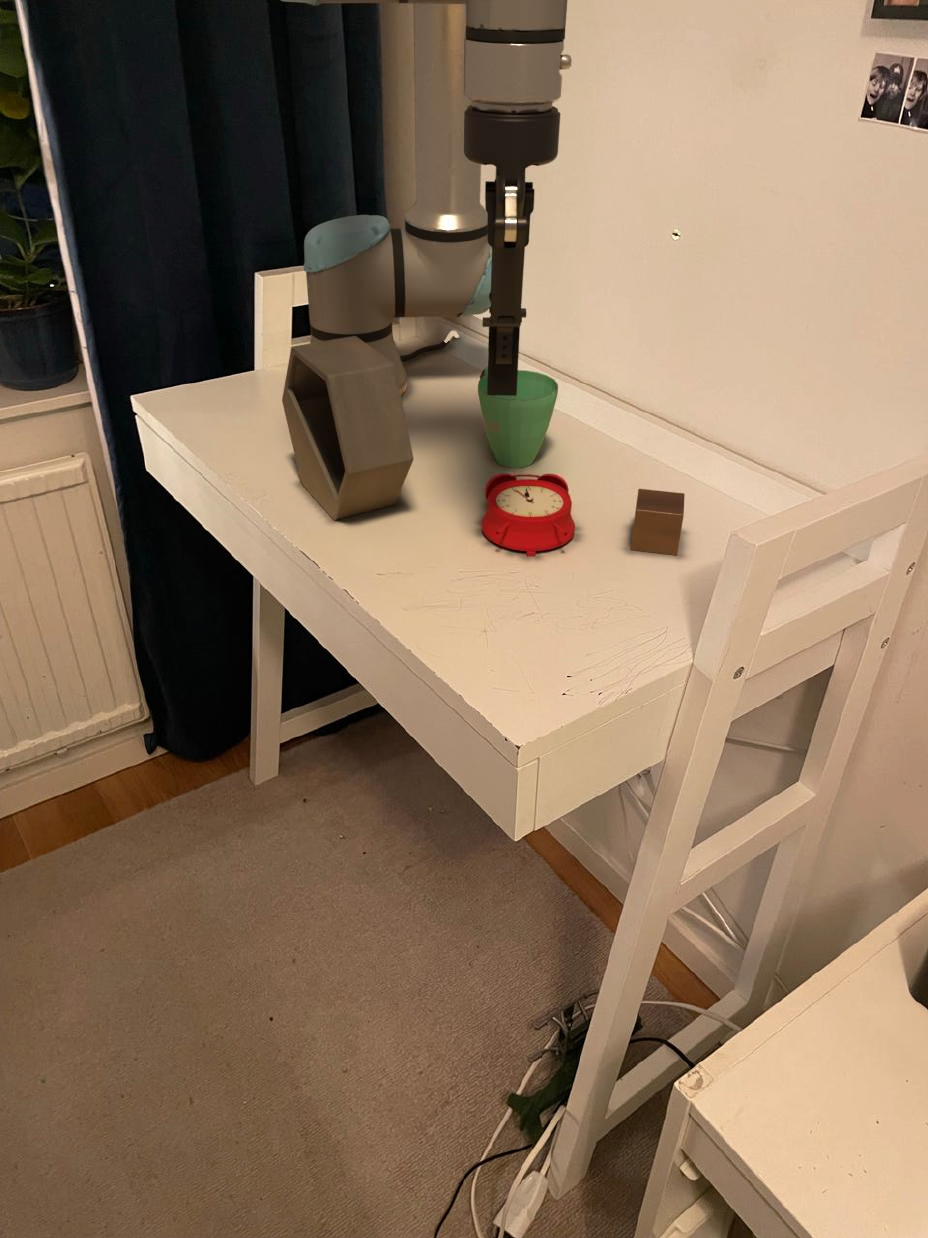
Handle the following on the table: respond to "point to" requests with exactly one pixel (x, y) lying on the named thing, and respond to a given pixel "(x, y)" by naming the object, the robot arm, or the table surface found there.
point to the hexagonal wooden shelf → (347, 425)
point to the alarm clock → (528, 512)
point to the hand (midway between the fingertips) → (501, 391)
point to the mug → (518, 417)
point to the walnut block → (658, 521)
